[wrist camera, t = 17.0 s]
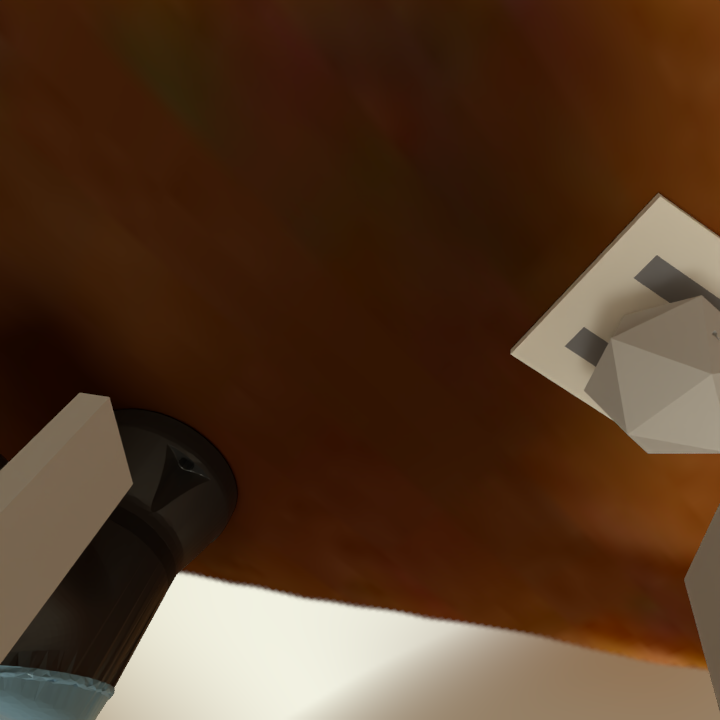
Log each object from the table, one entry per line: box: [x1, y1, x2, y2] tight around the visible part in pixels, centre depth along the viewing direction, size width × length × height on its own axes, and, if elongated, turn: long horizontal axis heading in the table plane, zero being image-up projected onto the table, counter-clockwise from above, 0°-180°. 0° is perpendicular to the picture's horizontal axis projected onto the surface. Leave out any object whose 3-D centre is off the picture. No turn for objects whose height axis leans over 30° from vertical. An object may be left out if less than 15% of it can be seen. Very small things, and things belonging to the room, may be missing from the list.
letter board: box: [511, 193, 720, 420], centre depth 38 cm, size 13×13×1 cm
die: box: [584, 295, 720, 453], centre depth 35 cm, size 8×9×10 cm
